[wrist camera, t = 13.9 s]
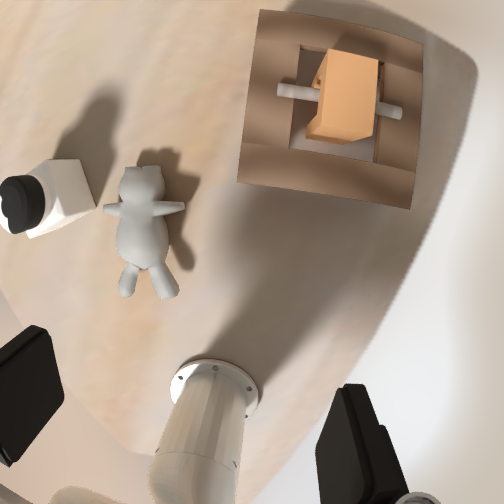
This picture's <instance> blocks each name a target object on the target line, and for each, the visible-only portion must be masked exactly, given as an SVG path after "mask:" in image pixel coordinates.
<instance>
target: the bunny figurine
mask: <svg viewBox="0 0 504 504" xmlns="http://www.w3.org/2000/svg"><path fill="white" fill-rule="evenodd" d="M164 194H165V181H164V178H163V175H162V173H161V166H158V165H149V166H143V167H142V168H141V167H138V166H136V167H125V174H124V175H123V177H122V179H121V181H120V185H119V195H120V197H121V199H122V201H123V202H120V203H112V204H106V205H104V206H103V212H105V213H108V214H111V215H114V216H117V217H120V218H121V219H120V222H119V224H118V227H117V234H116V248H117V254H118V255H119V256H121V257H122V258H123V259H124V260H126V261H127V263H126V265H125V268H124V270H123V273H122V275H121V278H120V280H119V285H118V292H119V293H120V295H122V296H124V297H129V296H132V294H133V293H134V291H135V286H136V281H137V276H138V272H139V268H140V269H143V270H146V269H148V270H149V273H150V276H151V279H152V282H153V285H154V288H155V291H156V293H157V295H158V296H159V297H160V298H162V299H165V300H167V299H170V298H173V297H175V296H177V295H178V293H179V291H180V290H179V286H178V284H177V282H176V280H175V279H174V277H173V275H172V274H171V272H170V270H169V269H168V267H167V265H166V264H165V259H166V256H167V253H168V249H169V235H168V229H167V224H166V221H165V219H164V216H165V215H169V214H172V213H175V212H178V211H181V210H184V209H185V206H184V202H172V201H162V199H163V197H164Z"/></svg>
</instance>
